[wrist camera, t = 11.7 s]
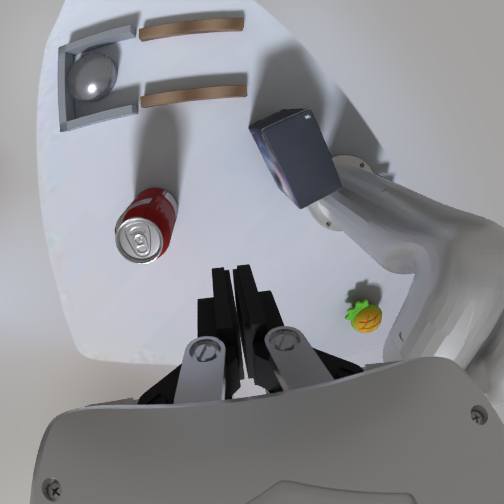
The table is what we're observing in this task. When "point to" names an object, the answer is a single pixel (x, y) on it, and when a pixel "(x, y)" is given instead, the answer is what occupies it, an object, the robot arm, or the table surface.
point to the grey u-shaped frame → (64, 67)
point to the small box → (297, 155)
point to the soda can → (146, 226)
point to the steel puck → (92, 77)
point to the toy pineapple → (364, 316)
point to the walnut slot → (185, 29)
